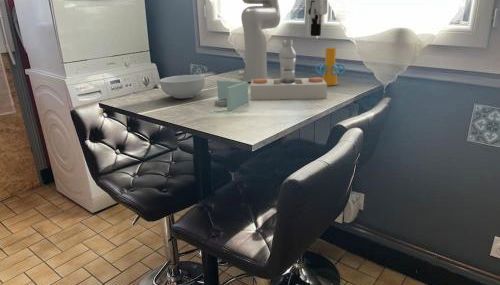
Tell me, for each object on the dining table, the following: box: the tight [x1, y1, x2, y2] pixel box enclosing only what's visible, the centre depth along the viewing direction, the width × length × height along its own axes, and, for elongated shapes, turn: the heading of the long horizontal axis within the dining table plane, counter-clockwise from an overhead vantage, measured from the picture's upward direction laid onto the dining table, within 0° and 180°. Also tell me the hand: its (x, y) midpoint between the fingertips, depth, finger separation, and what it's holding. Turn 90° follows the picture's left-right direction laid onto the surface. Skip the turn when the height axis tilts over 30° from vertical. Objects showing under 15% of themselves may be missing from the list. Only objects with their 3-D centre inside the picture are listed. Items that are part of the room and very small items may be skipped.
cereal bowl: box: [159, 74, 206, 99], centre depth 148 cm, size 17×17×7 cm
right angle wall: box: [213, 79, 249, 112], centre depth 131 cm, size 12×12×8 cm
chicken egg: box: [253, 79, 267, 84], centre depth 144 cm, size 5×5×6 cm
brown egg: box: [309, 76, 323, 82], centre depth 143 cm, size 5×5×6 cm
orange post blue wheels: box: [314, 47, 346, 87], centre depth 160 cm, size 12×10×15 cm
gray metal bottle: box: [278, 39, 297, 84], centre depth 142 cm, size 6×7×20 cm
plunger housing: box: [249, 77, 328, 101], centre depth 144 cm, size 27×14×5 cm, turn 87°
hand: (315, 35), depth 138 cm, fingers closed
